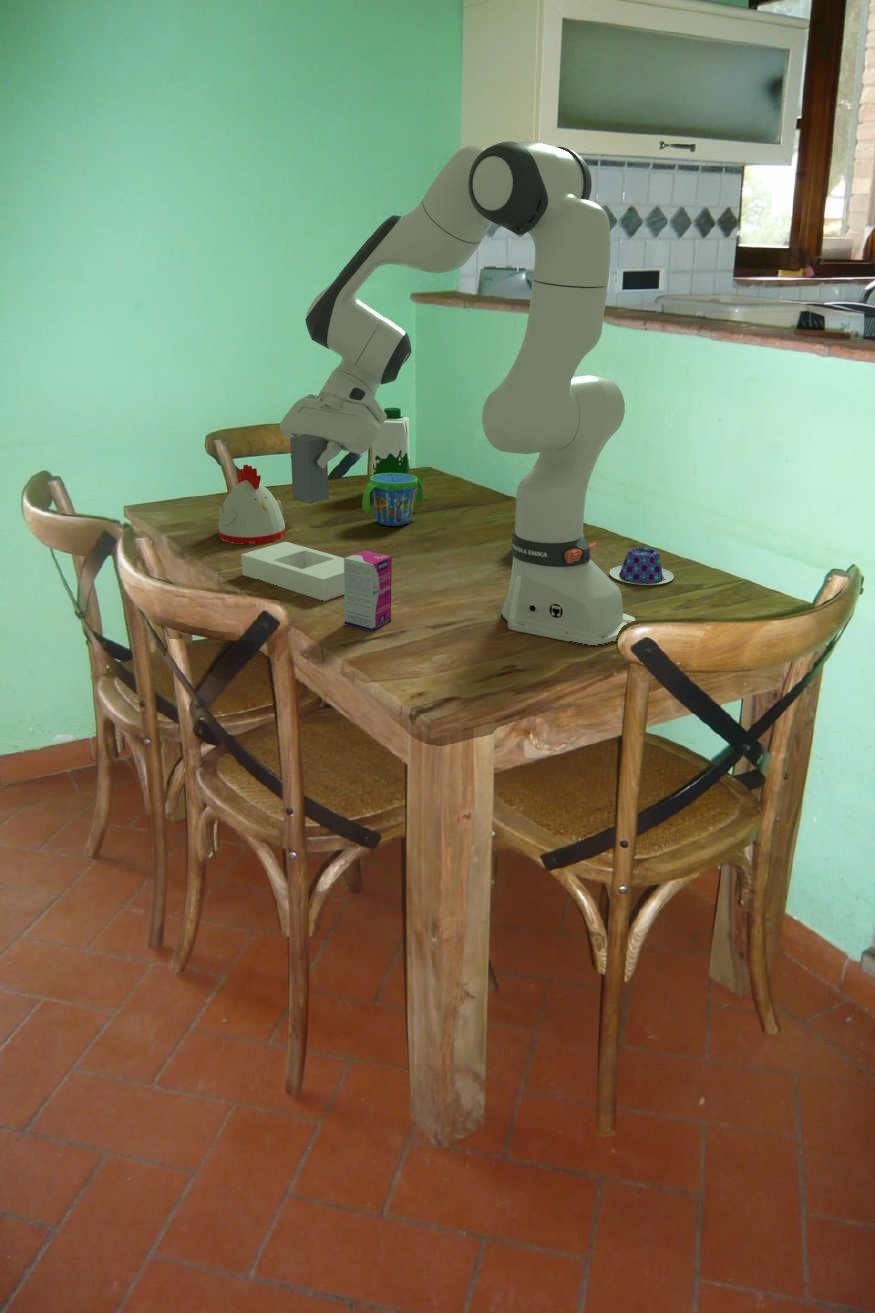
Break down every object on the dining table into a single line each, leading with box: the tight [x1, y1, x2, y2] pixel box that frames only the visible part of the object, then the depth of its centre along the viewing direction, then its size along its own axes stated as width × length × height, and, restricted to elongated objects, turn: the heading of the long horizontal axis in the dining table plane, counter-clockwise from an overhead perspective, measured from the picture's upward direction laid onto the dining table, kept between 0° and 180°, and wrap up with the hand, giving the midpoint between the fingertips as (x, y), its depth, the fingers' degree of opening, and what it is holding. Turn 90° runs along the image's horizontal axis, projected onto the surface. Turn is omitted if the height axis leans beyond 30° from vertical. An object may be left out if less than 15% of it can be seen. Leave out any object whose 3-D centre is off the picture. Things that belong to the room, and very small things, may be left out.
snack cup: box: [361, 473, 425, 527], centre depth 218 cm, size 16×10×10 cm
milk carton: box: [371, 407, 411, 476], centre depth 241 cm, size 9×9×20 cm
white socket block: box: [240, 541, 345, 602], centre depth 183 cm, size 22×11×4 cm, turn 50°
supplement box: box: [343, 550, 393, 632], centre depth 162 cm, size 6×6×12 cm
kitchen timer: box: [218, 464, 287, 545], centre depth 207 cm, size 14×14×15 cm
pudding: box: [609, 547, 675, 586], centre depth 186 cm, size 12×12×5 cm
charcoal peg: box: [289, 435, 330, 505], centre depth 176 cm, size 4×4×11 cm
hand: (306, 463), depth 175 cm, fingers closed on charcoal peg, 4 cm apart
